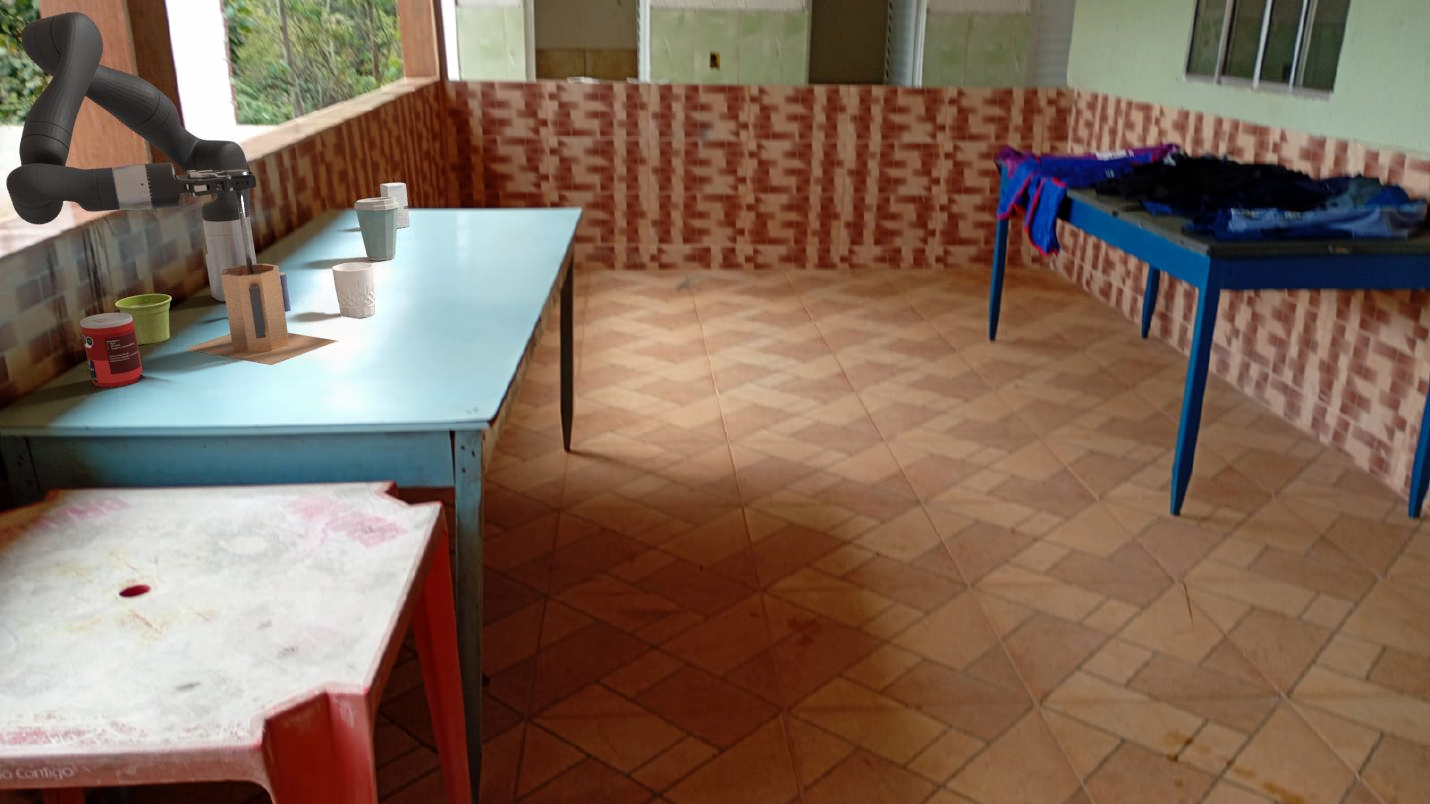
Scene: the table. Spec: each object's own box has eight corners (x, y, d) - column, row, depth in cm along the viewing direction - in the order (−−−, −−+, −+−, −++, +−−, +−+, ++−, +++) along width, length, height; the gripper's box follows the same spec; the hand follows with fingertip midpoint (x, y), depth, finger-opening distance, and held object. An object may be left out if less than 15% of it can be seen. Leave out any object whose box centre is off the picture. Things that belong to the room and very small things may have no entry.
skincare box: (391, 229, 316) (386, 185, 312) (383, 227, 319) (378, 184, 315) (411, 226, 320) (406, 183, 316) (402, 224, 323) (398, 181, 319)
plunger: (227, 300, 204) (207, 172, 196) (255, 292, 209) (237, 167, 202) (253, 304, 201) (234, 174, 193) (281, 296, 207) (263, 169, 199)
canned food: (103, 374, 196) (91, 313, 192) (151, 373, 197) (139, 311, 193) (83, 389, 189) (70, 325, 185) (133, 387, 190) (121, 323, 186)
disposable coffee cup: (350, 261, 279) (343, 199, 274) (378, 252, 288) (372, 192, 283) (386, 264, 275) (379, 202, 270) (413, 255, 285) (407, 195, 279)
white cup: (366, 320, 228) (361, 271, 224) (330, 318, 229) (324, 270, 226) (385, 310, 235) (379, 263, 232) (350, 308, 237) (344, 261, 233)
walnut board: (183, 355, 206) (182, 348, 206) (253, 332, 220) (252, 326, 219) (272, 371, 197) (271, 364, 197) (339, 346, 211) (338, 340, 210)
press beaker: (219, 349, 206) (207, 273, 201) (262, 335, 214) (251, 262, 209) (263, 356, 201) (251, 279, 196) (305, 342, 210) (295, 267, 205)
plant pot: (143, 355, 207) (134, 309, 204) (113, 347, 211) (104, 302, 208) (189, 342, 214) (182, 297, 211) (159, 335, 219) (151, 291, 216)
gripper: (143, 169, 185) (255, 162, 192) (141, 159, 197) (247, 152, 204) (151, 215, 187) (262, 206, 194) (148, 202, 199) (253, 194, 206)
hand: (253, 179), depth 199 cm, fingers closed on plunger, 4 cm apart
